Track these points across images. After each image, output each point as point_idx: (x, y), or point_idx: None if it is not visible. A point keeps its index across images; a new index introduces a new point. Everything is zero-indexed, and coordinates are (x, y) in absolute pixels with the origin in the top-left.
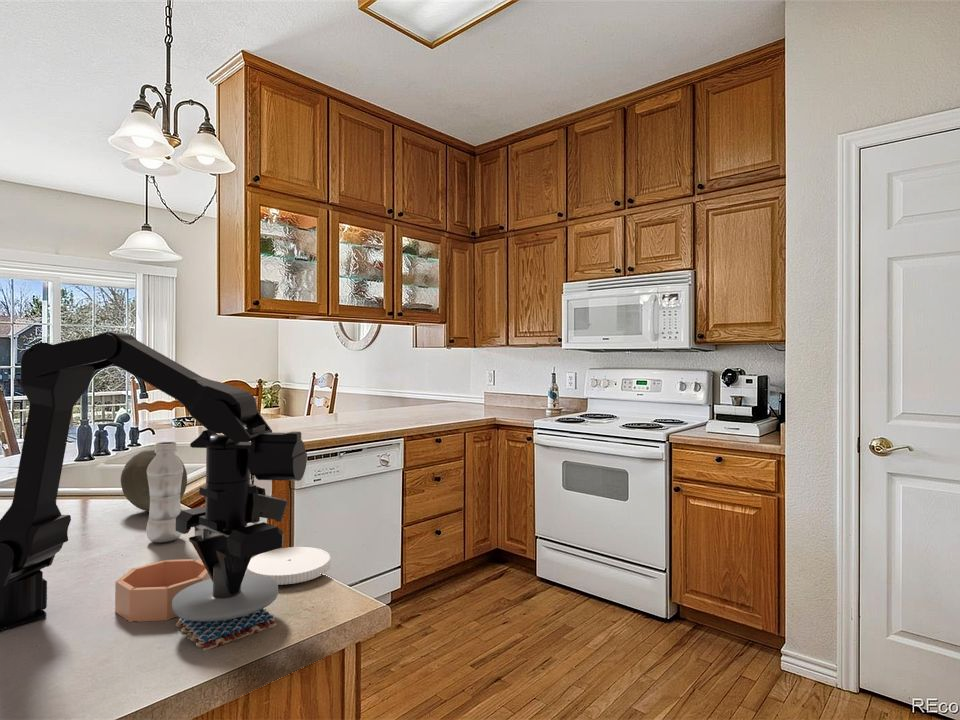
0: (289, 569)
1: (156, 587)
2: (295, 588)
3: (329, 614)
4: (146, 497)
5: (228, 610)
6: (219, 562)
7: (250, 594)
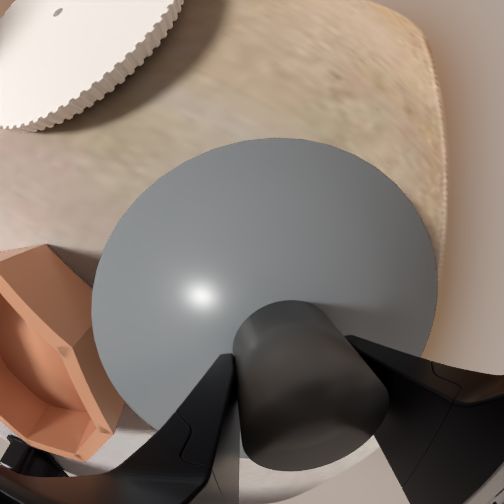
0: (113, 20)
1: (90, 438)
2: (177, 40)
3: (397, 87)
4: None
5: None
6: (405, 488)
7: (365, 287)
